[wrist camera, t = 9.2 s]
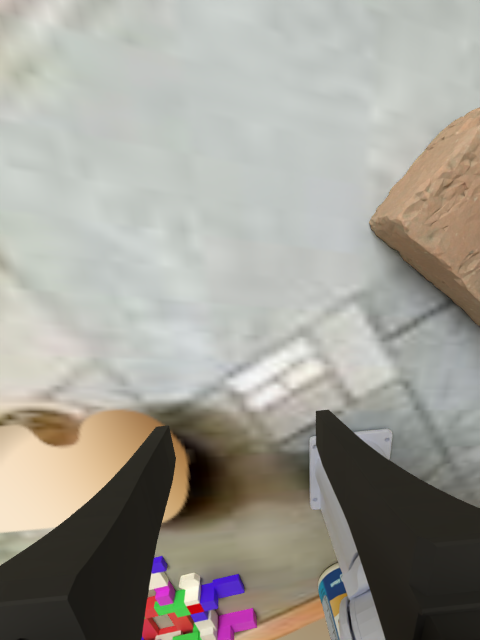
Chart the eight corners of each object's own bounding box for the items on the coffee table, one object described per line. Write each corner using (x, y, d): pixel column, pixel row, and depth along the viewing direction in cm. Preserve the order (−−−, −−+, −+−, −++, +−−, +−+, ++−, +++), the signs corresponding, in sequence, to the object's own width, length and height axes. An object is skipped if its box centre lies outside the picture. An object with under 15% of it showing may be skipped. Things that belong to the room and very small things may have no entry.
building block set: (221, 531, 31) (220, 579, 26) (265, 628, 37) (270, 680, 33) (21, 579, 32) (-10, 633, 28) (98, 665, 39) (81, 719, 34)
